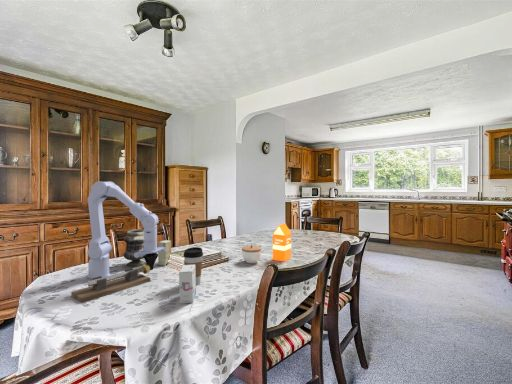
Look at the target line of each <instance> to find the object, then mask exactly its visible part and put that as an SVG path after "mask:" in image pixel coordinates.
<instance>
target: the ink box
mask: <svg viewBox="0 0 512 384" xmlns="http://www.w3.org/2000/svg"><path fill="white" fill-rule="evenodd" d="M178 282H179V286H178V287H179V304H190V303H191V304H192V303H194V300H195V298H196V295H197V289H196V288H197V287H196V286H197V285H196V275H195V265H185V264H183V265H182V267H181V269H180V270H179V271H178Z"/></svg>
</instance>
